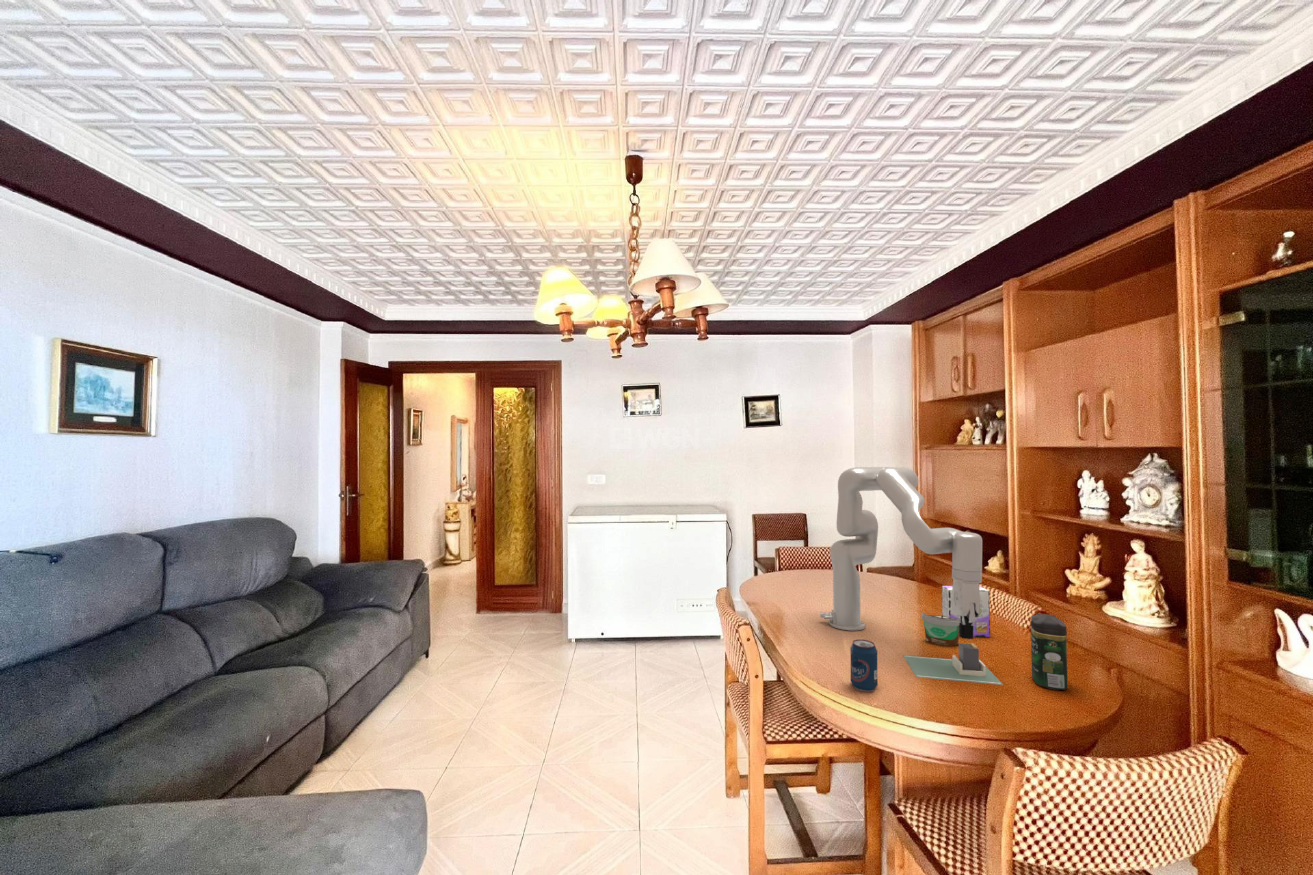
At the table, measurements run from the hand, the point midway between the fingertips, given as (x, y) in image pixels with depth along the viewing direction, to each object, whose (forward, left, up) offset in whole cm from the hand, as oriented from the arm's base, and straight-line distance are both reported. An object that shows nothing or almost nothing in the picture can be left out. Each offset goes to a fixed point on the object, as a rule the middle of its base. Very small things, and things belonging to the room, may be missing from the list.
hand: (966, 637), depth 155 cm
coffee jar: (+20, -2, -11) cm, 23 cm away
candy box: (+11, +36, -11) cm, 39 cm away
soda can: (-31, -16, -11) cm, 36 cm away
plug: (0, -1, -9) cm, 9 cm away
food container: (-1, +21, -11) cm, 23 cm away
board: (-5, -1, -10) cm, 11 cm away
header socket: (0, -1, -9) cm, 9 cm away
